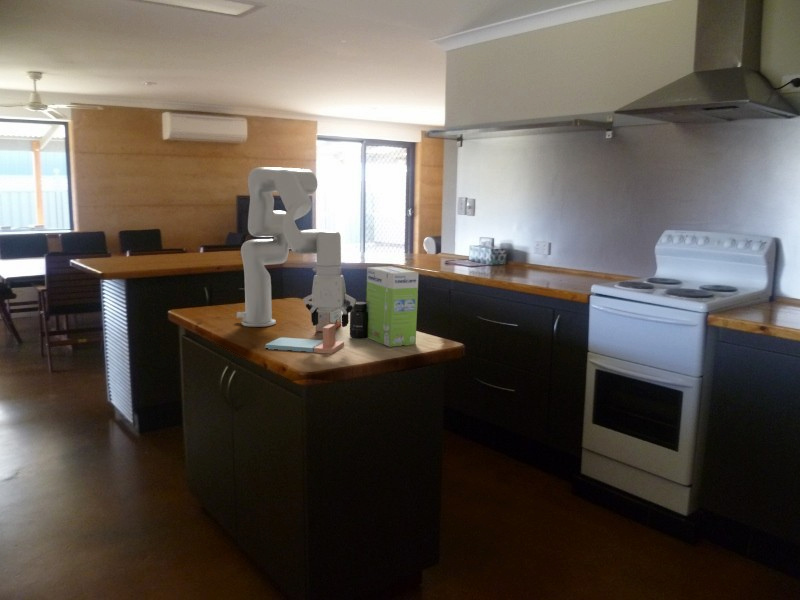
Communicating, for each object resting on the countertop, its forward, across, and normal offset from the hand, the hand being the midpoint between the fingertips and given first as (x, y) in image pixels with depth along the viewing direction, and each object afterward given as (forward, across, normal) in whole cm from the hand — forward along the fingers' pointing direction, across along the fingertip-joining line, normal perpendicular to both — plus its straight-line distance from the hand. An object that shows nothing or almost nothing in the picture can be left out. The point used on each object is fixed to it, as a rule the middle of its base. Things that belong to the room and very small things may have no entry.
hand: (330, 325), depth 203 cm
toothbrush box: (+8, +15, +17) cm, 24 cm away
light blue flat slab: (+7, -12, 0) cm, 14 cm away
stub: (+8, 0, 0) cm, 8 cm away
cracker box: (+7, -12, +30) cm, 33 cm away
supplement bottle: (+8, +3, +20) cm, 21 cm away
